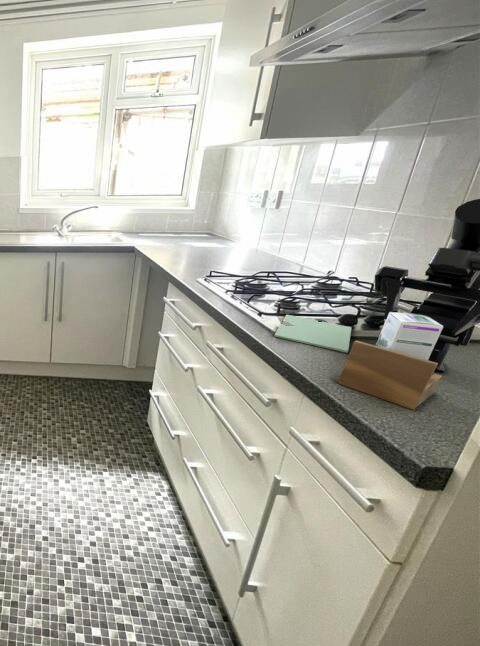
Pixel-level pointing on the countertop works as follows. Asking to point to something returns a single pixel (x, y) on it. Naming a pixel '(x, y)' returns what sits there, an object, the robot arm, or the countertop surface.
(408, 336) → the syrup box
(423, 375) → the stand
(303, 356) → the countertop surface
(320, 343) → the mat
